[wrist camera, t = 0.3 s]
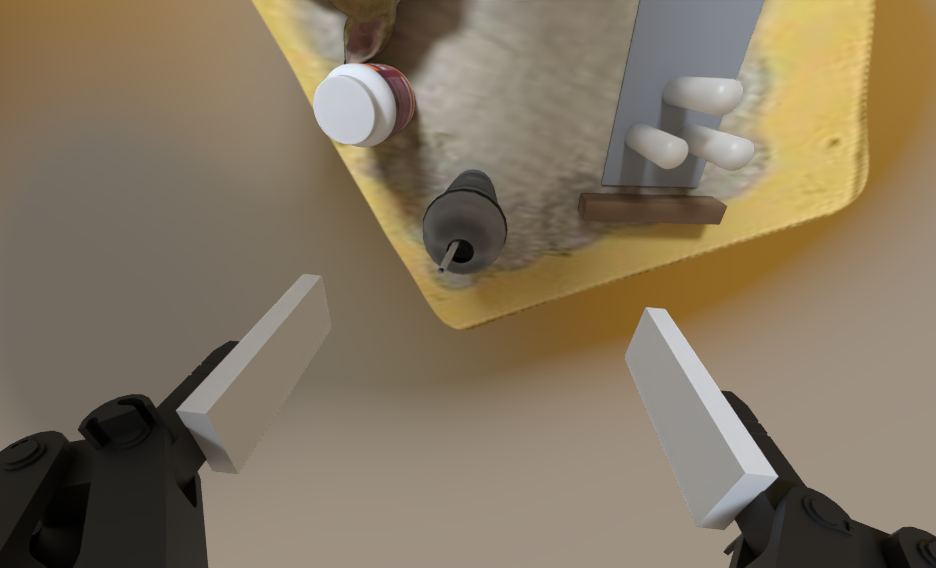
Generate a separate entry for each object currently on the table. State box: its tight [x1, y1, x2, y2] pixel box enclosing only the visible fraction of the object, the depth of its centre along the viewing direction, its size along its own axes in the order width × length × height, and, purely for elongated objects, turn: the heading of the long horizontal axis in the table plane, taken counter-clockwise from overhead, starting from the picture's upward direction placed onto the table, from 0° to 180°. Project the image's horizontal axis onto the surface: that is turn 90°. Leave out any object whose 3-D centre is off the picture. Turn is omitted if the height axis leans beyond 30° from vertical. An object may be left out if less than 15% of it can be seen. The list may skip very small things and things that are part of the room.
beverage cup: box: [423, 170, 507, 275], centre depth 31 cm, size 7×7×20 cm
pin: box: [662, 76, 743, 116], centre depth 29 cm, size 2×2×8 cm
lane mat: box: [601, 0, 764, 187], centre depth 30 cm, size 27×10×1 cm, turn 0°
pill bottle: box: [313, 63, 415, 147], centre depth 30 cm, size 6×6×11 cm
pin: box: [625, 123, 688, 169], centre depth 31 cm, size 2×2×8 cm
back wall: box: [578, 193, 727, 225], centre depth 37 cm, size 2×14×3 cm, turn 90°
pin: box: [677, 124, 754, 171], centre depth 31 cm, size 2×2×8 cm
